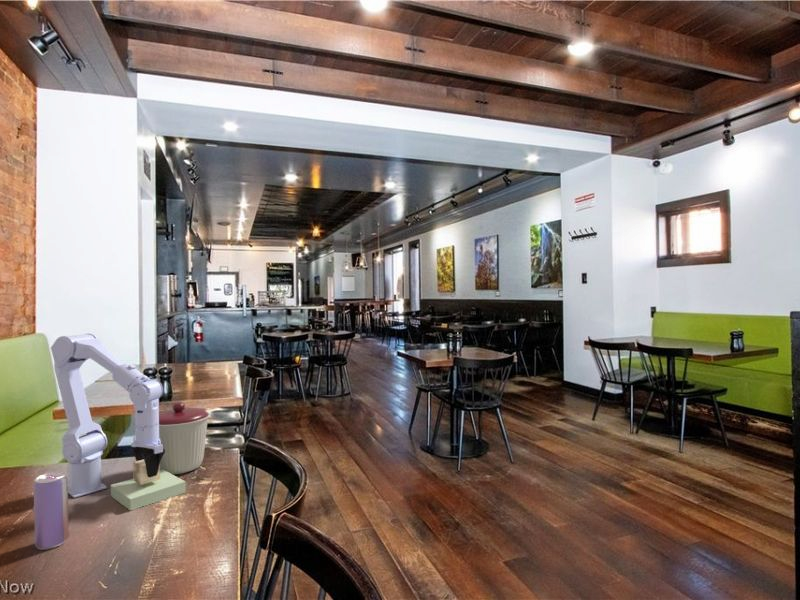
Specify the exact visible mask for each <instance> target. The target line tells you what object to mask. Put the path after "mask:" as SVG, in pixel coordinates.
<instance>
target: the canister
mask: <svg viewBox="0 0 800 600" xmlns="http://www.w3.org/2000/svg"><path fill="white" fill-rule="evenodd" d="M210 416H211V413H210V412H209V411H207V410H204V409H203V408H199V407H186V405H185V403H184V402H181V401H180V402H175V403H173V405H172V409H167V410H162V411H159V438H160V441H161V444H162V445H163V449H165V453H164V455H163V457H162V459H161V461H160V471H161V470H165V471H167V472H169V473H171V474H172V475H174V476H175V475H181V474H186V473H188V472H191V471H194V470H196V469H198V468H199V467H200V466H201V464H202V463H203V460H204V456H205V449H206V439H207V430H208V421H209V420H208V419H209V417H210Z"/></svg>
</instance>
